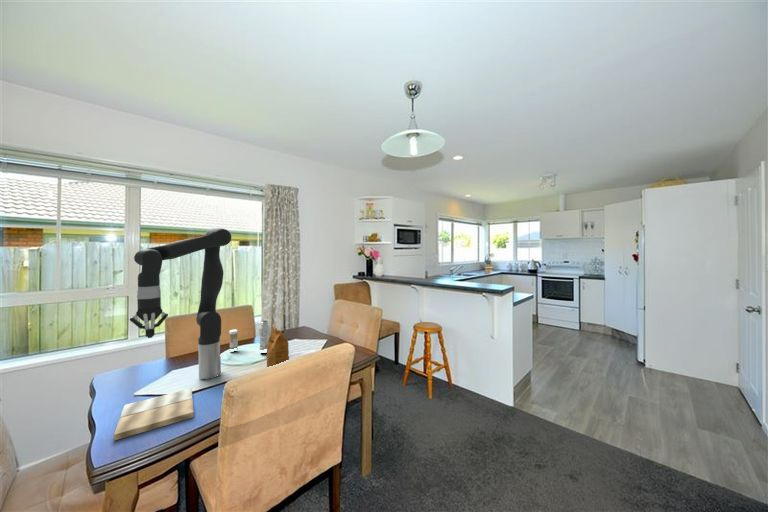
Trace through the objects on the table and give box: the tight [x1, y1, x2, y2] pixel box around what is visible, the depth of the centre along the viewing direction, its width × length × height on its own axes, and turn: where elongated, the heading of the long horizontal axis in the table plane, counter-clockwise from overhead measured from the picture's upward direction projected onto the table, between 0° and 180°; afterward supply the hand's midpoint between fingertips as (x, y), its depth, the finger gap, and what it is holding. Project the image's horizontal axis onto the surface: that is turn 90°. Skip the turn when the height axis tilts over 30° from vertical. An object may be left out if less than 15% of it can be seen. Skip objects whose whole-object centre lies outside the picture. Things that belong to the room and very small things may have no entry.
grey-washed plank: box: [119, 388, 193, 419], centre depth 113 cm, size 22×10×2 cm, turn 126°
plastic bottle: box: [258, 320, 271, 350], centre depth 170 cm, size 6×7×20 cm
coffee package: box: [265, 326, 290, 368], centre depth 149 cm, size 10×12×22 cm
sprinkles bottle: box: [228, 329, 239, 350], centre depth 174 cm, size 5×5×14 cm
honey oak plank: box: [113, 398, 194, 441], centre depth 104 cm, size 22×12×2 cm, turn 126°
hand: (150, 337), depth 117 cm, fingers closed
